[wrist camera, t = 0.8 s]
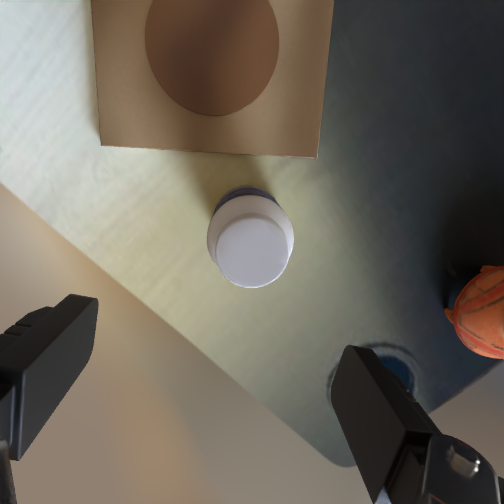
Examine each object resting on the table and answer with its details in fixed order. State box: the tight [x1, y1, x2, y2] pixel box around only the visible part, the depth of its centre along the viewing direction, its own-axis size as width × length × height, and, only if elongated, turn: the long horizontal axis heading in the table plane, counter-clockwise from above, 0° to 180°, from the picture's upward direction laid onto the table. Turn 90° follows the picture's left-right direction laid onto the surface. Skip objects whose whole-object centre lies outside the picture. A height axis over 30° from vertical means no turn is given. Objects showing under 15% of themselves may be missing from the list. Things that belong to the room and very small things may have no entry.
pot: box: [444, 266, 504, 359], centre depth 27 cm, size 8×8×7 cm
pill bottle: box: [207, 186, 294, 288], centre depth 22 cm, size 5×5×10 cm
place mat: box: [91, 0, 334, 159], centre depth 23 cm, size 16×14×1 cm
